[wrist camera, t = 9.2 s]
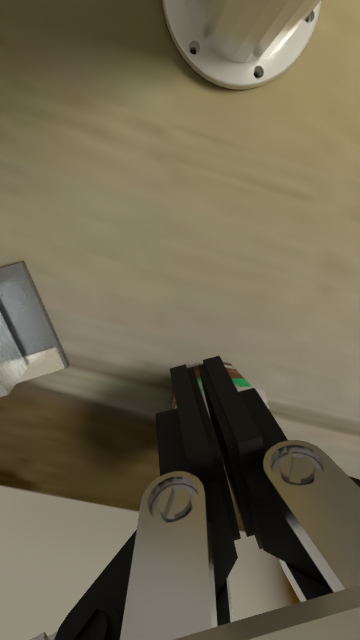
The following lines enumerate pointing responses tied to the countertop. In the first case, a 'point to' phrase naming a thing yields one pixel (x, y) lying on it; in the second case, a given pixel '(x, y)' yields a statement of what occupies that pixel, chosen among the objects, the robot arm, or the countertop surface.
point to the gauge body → (29, 323)
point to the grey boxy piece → (9, 360)
